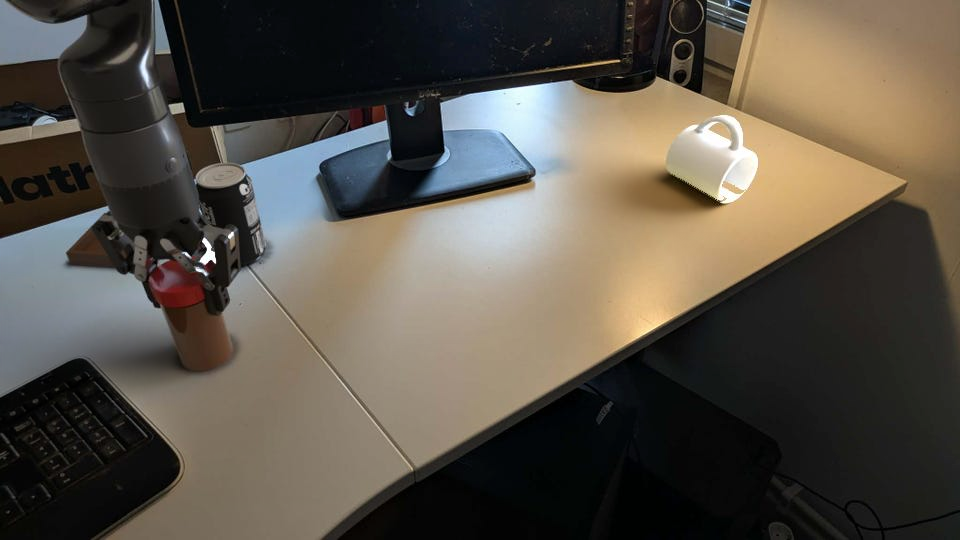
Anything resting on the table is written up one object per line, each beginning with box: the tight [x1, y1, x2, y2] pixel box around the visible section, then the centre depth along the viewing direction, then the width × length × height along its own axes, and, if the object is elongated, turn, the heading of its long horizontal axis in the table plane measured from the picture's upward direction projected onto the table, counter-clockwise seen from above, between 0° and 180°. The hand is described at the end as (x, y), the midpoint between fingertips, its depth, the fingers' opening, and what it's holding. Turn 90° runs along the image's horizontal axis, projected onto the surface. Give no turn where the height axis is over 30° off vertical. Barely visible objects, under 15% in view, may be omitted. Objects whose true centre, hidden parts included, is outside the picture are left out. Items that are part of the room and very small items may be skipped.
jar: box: [160, 298, 234, 373], centre depth 69 cm, size 5×5×11 cm
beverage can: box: [194, 162, 267, 267], centre depth 83 cm, size 7×7×12 cm
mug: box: [665, 114, 758, 204], centre depth 98 cm, size 8×10×12 cm
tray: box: [65, 212, 134, 269], centre depth 87 cm, size 9×9×2 cm
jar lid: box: [149, 256, 210, 307], centre depth 66 cm, size 6×6×2 cm
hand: (191, 306), depth 68 cm, fingers closed on jar lid, 5 cm apart
